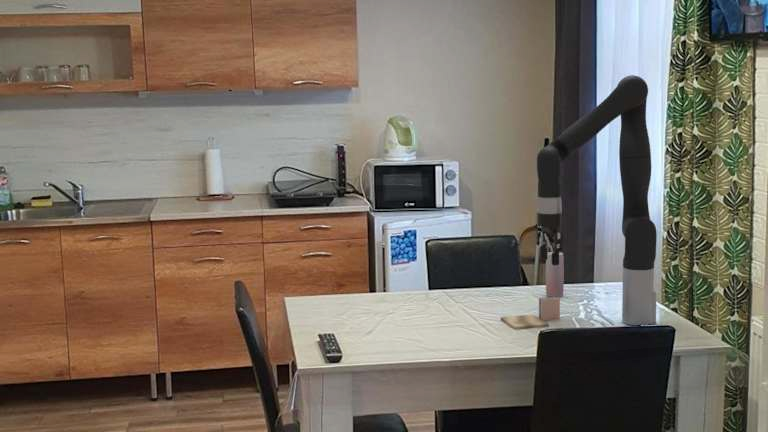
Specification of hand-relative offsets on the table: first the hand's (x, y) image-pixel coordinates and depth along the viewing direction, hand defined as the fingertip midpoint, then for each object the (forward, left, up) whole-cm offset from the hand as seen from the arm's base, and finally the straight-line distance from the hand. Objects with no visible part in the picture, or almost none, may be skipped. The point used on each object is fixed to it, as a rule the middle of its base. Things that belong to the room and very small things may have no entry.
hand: (549, 262), depth 295 cm
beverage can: (-15, -28, -18) cm, 37 cm away
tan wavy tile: (+9, +2, -18) cm, 20 cm away
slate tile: (0, 0, -18) cm, 18 cm away
